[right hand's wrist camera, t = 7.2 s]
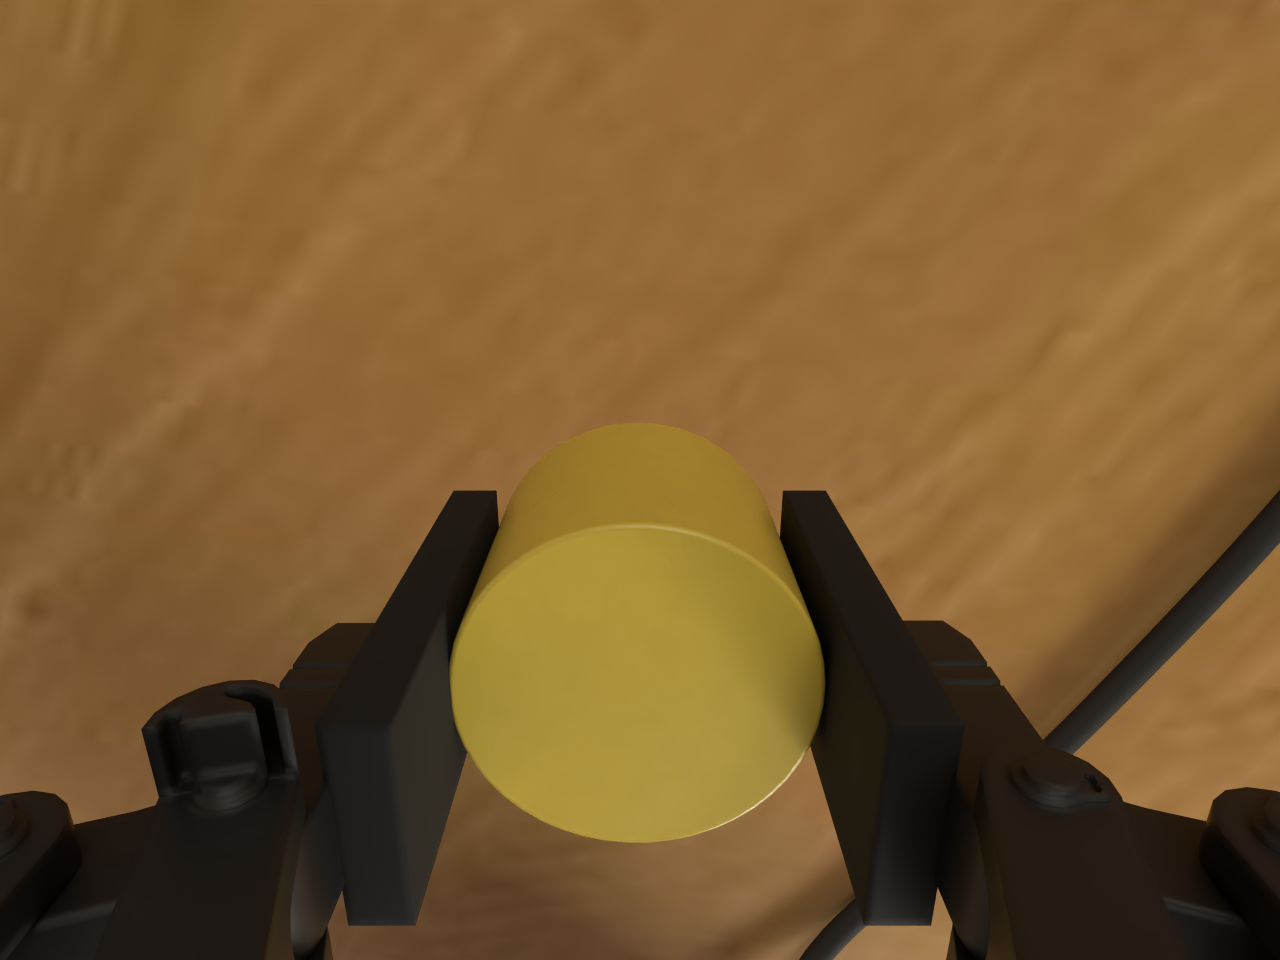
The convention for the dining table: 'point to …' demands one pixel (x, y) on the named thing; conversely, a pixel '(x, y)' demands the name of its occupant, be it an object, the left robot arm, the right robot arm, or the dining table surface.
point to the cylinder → (637, 642)
